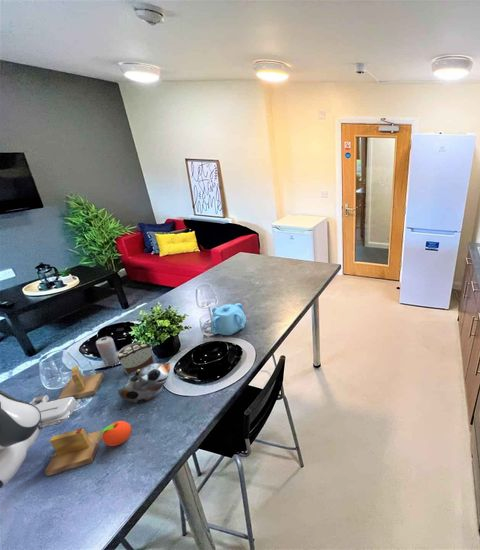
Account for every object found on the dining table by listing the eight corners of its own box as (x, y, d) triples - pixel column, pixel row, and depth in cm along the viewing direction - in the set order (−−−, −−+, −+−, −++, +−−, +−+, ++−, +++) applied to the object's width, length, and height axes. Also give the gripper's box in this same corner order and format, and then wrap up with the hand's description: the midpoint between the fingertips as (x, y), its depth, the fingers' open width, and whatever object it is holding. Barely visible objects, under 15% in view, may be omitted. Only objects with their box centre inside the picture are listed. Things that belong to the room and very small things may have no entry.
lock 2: (78, 380, 111) (71, 366, 108) (83, 378, 112) (77, 365, 109) (78, 391, 106) (71, 377, 104) (84, 389, 107) (77, 375, 105)
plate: (57, 403, 104) (55, 398, 103) (69, 383, 112) (67, 379, 111) (97, 393, 108) (95, 389, 107) (105, 375, 116) (104, 371, 115)
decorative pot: (245, 336, 144) (242, 312, 138) (210, 340, 139) (205, 316, 134) (247, 318, 158) (244, 296, 152) (215, 322, 153) (211, 300, 148)
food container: (152, 355, 128) (145, 337, 124) (157, 361, 125) (151, 342, 121) (117, 370, 119) (110, 351, 115) (123, 377, 116) (115, 357, 112)
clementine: (100, 457, 87) (91, 441, 84) (104, 438, 92) (96, 423, 89) (133, 444, 91) (126, 429, 88) (135, 427, 96) (128, 412, 93)
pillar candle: (120, 357, 126) (111, 334, 122) (122, 363, 123) (113, 340, 118) (104, 362, 123) (94, 339, 118) (105, 369, 120) (95, 345, 115)
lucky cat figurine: (146, 375, 117) (158, 347, 115) (170, 390, 117) (183, 362, 114) (109, 395, 102) (122, 363, 100) (137, 412, 102) (151, 381, 100)
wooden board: (44, 477, 81) (41, 472, 80) (60, 446, 90) (57, 441, 89) (95, 461, 86) (92, 456, 85) (106, 433, 94) (103, 428, 93)
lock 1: (58, 456, 85) (49, 440, 82) (60, 451, 86) (51, 435, 83) (89, 447, 88) (80, 432, 85) (90, 442, 89) (83, 427, 86)
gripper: (62, 414, 85) (80, 381, 96) (-41, 439, 76) (-7, 400, 88) (70, 428, 87) (87, 395, 98) (-29, 454, 79) (2, 414, 90)
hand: (42, 397), depth 93 cm, fingers closed
